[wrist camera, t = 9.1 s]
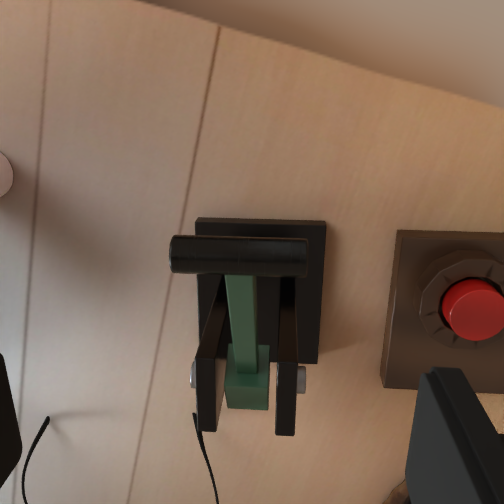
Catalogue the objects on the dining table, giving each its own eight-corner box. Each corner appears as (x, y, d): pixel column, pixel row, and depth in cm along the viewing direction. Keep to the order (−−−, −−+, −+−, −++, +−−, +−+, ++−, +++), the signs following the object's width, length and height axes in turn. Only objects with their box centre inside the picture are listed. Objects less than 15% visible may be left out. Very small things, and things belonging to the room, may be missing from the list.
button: (445, 277, 31) (454, 288, 29) (502, 279, 31) (515, 291, 29) (437, 326, 32) (445, 340, 31) (492, 328, 32) (503, 342, 30)
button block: (396, 229, 33) (408, 246, 30) (530, 233, 33) (557, 250, 29) (379, 375, 37) (388, 403, 34) (497, 380, 37) (518, 410, 34)
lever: (175, 217, 18) (163, 267, 17) (308, 221, 18) (308, 272, 16) (207, 366, 27) (201, 407, 26) (294, 370, 27) (294, 412, 25)
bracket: (197, 217, 34) (148, 294, 22) (325, 220, 33) (345, 302, 21) (202, 350, 38) (162, 478, 26) (316, 355, 37) (329, 489, 25)
